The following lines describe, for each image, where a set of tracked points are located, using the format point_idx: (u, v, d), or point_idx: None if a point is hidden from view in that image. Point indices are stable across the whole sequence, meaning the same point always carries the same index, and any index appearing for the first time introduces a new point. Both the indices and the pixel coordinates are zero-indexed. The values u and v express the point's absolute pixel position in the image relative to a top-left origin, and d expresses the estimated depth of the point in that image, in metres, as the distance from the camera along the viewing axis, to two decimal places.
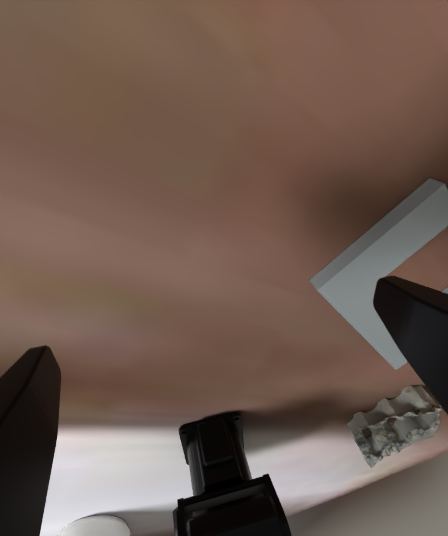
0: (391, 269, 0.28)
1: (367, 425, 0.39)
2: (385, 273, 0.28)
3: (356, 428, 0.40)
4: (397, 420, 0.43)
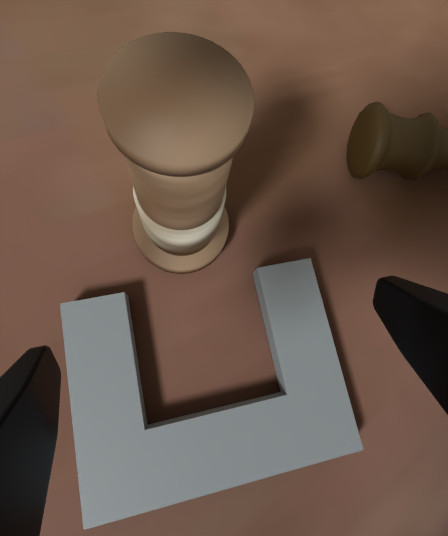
0: (137, 402, 0.19)
1: None
2: (137, 413, 0.19)
3: None
4: None
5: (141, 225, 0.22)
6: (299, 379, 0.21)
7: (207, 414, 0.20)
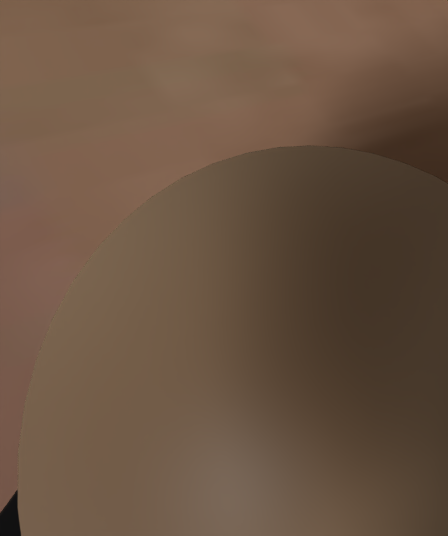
0: None
1: None
2: None
3: None
4: None
5: None
6: None
7: None
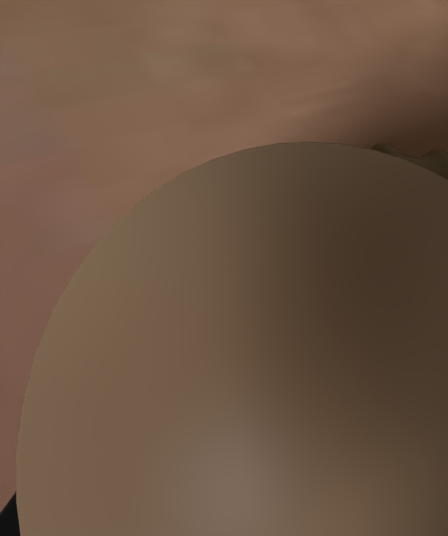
0: None
1: None
2: None
3: None
4: None
5: None
6: None
7: None
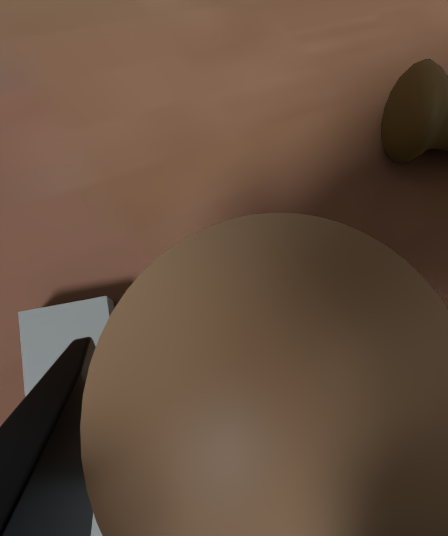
0: None
1: None
2: None
3: None
4: None
5: None
6: None
7: None
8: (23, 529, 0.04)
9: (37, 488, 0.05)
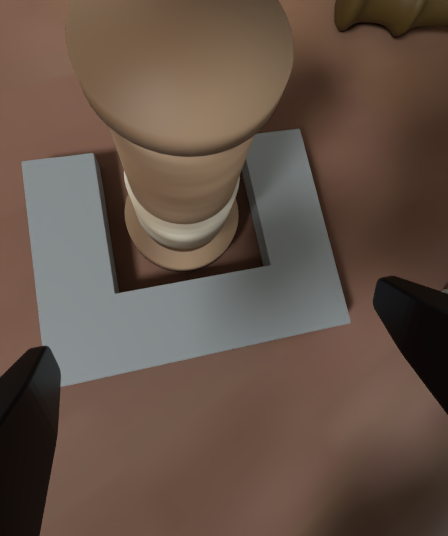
0: (106, 266, 0.18)
1: None
2: (106, 277, 0.17)
3: None
4: None
5: (135, 215, 0.19)
6: (284, 250, 0.19)
7: (183, 281, 0.18)
8: None
9: None
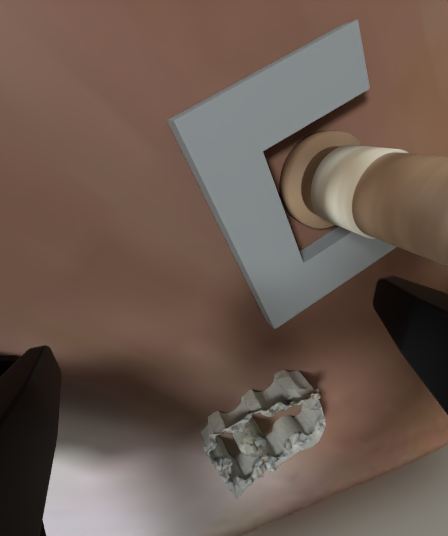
0: (282, 136, 0.20)
1: (223, 429, 0.27)
2: (274, 139, 0.20)
3: None
4: (274, 425, 0.32)
5: (323, 143, 0.21)
6: (314, 268, 0.25)
7: (281, 204, 0.22)
8: None
9: None
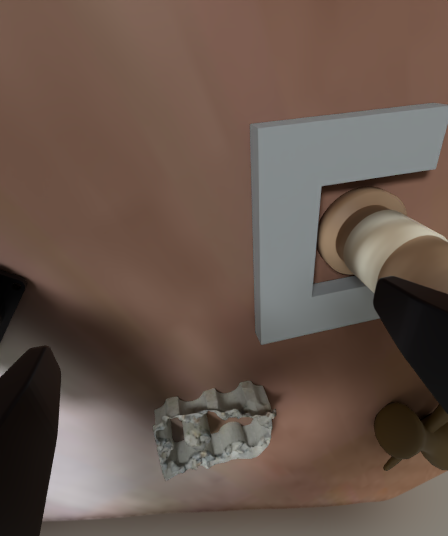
0: (344, 179, 0.21)
1: (177, 415, 0.28)
2: (336, 179, 0.21)
3: None
4: (222, 427, 0.33)
5: (375, 200, 0.22)
6: (319, 305, 0.26)
7: (315, 238, 0.23)
8: None
9: None
